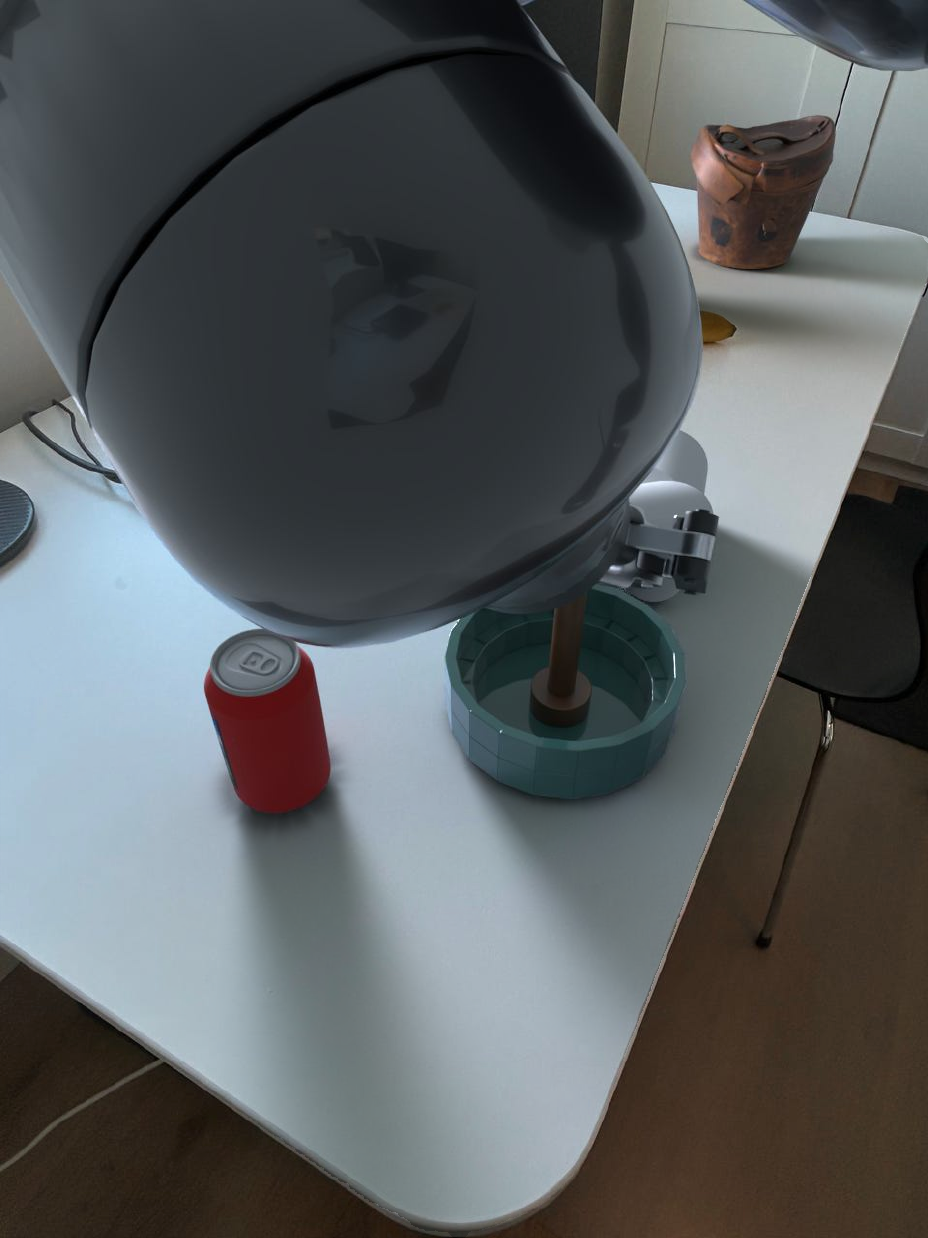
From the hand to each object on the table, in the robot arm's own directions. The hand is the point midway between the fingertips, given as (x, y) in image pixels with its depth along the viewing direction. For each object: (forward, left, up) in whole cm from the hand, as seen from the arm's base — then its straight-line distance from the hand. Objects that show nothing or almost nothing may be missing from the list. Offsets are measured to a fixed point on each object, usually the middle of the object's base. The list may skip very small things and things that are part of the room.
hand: (554, 550), depth 43 cm
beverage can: (+17, +5, -23) cm, 29 cm away
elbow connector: (+5, -27, -23) cm, 36 cm away
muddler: (+2, -9, -22) cm, 24 cm away
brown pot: (+10, -103, -23) cm, 106 cm away
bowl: (+2, -9, -23) cm, 25 cm away
